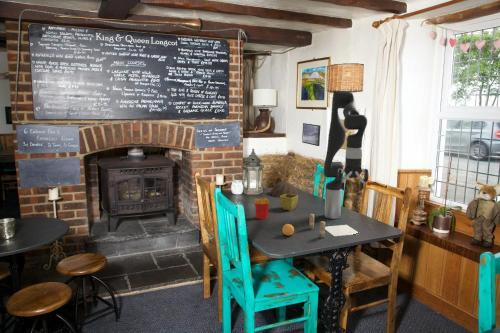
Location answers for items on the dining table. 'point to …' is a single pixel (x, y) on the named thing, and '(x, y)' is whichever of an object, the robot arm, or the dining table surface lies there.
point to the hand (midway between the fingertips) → (351, 189)
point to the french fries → (261, 208)
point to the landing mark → (340, 230)
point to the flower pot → (288, 201)
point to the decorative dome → (283, 189)
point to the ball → (288, 229)
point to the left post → (311, 221)
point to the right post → (322, 229)
